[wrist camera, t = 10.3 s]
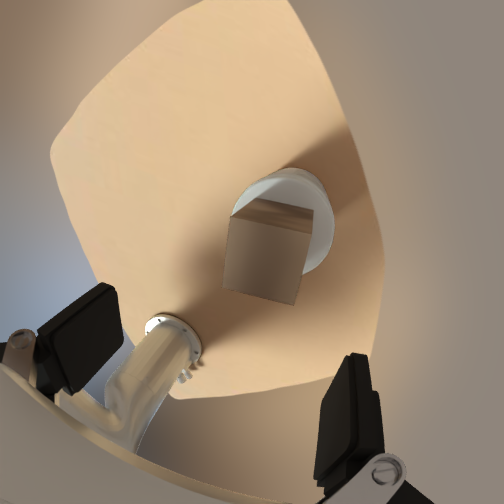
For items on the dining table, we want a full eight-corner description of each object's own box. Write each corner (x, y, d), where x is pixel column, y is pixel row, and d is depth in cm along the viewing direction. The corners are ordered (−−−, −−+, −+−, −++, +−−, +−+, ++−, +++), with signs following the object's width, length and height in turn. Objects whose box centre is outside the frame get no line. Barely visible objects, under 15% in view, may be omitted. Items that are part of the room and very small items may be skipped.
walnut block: (313, 209, 22) (312, 234, 16) (301, 264, 24) (293, 305, 18) (255, 197, 23) (230, 216, 16) (247, 251, 25) (221, 287, 18)
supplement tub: (264, 236, 40) (236, 283, 26) (254, 171, 36) (216, 184, 23) (332, 231, 37) (338, 277, 24) (324, 163, 34) (329, 169, 21)
